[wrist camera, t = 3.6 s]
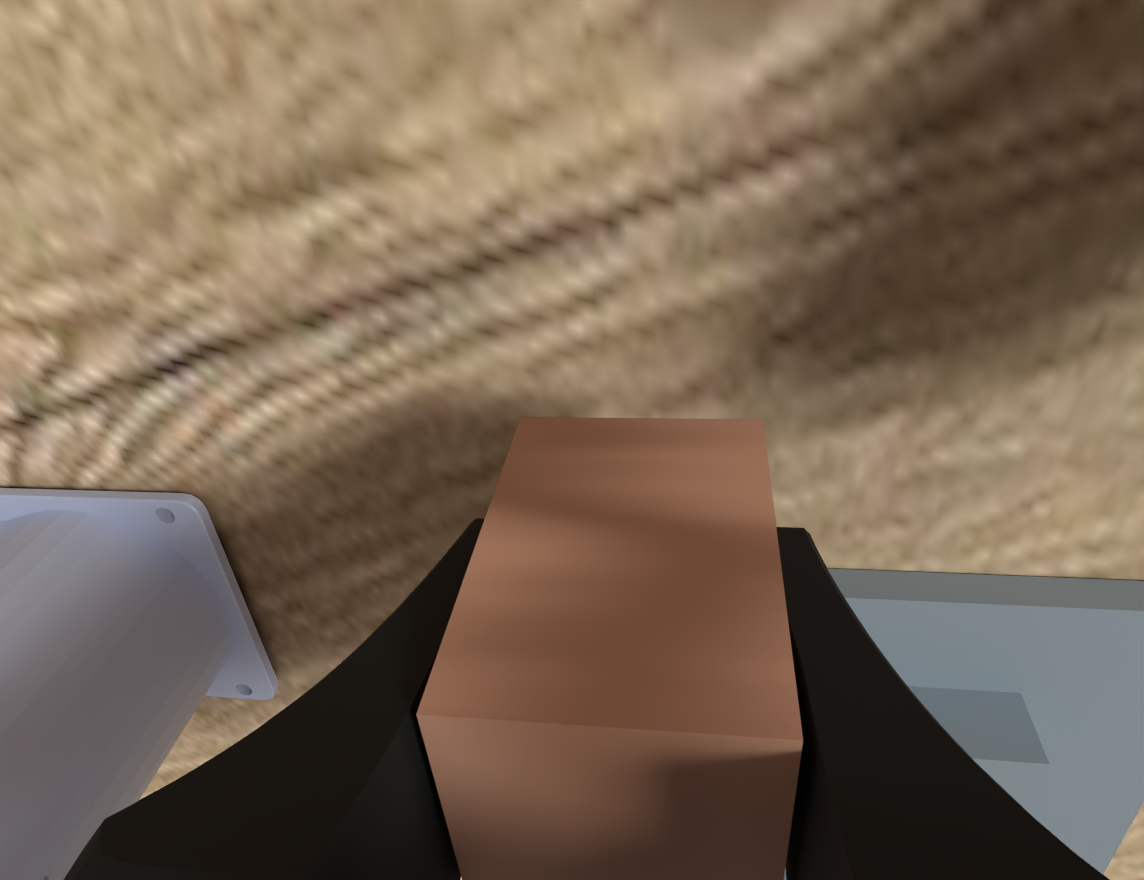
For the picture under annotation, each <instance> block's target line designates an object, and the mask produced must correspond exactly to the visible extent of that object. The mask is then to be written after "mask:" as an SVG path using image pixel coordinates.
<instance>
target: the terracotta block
mask: <svg viewBox="0 0 1144 880" xmlns="http://www.w3.org/2000/svg"><path fill="white" fill-rule="evenodd" d="M416 715H417V719H418V722H419V726H420V729H421V733H422V737H423V740H424V744H425V747H426V751H427V755H428V758H429V762H430V765H431V769H432V773H433V776H434V780H435V783H436V787H437V791H438V794H439V798H440V801H441V805H442V809H443V812H444V816H445V819H446V823H447V827H448V830H449V834H450V838H451V841H452V845H453V848H454V852H455V856H456V859H457V863H458V866H459V870H460V874H461V877H462V880H784V873H785V866H786V859H787V852H788V845H789V838H790V831H791V823H792V816H793V809H794V802H795V795H796V788H797V781H798V774H799V767H800V760H801V753H802V745H803V735H802V727H801V719H800V711H799V703H798V695H797V687H796V679H795V671H794V663H793V655H792V647H791V639H790V632H789V624H788V616H787V608H786V600H785V592H784V584H783V576H782V568H781V560H780V552H779V544H778V536H777V528H776V520H775V513H774V505H773V497H772V489H771V481H770V473H769V465H768V457H767V449H766V441H765V433H764V425H763V419H657V418H547V417H520V420H519V422H518V425H517V428H516V431H515V434H514V437H513V440H512V442H511V445H510V448H509V451H508V454H507V457H506V460H505V462H504V465H503V468H502V471H501V474H500V477H499V480H498V482H497V485H496V488H495V491H494V494H493V497H492V500H491V502H490V505H489V508H488V511H487V514H486V517H485V520H484V522H483V525H482V528H481V531H480V534H479V537H478V540H477V542H476V545H475V548H474V551H473V554H472V557H471V560H470V562H469V565H468V568H467V571H466V574H465V577H464V580H463V582H462V585H461V588H460V591H459V594H458V597H457V600H456V602H455V605H454V608H453V611H452V614H451V617H450V620H449V622H448V625H447V628H446V631H445V634H444V637H443V640H442V642H441V645H440V648H439V651H438V654H437V657H436V660H435V662H434V665H433V668H432V671H431V674H430V677H429V680H428V682H427V685H426V688H425V691H424V694H423V697H422V699H421V702H420V705H419V708H418V711H417V714H416Z"/></svg>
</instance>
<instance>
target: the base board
mask: <svg viewBox="0 0 1144 880" xmlns="http://www.w3.org/2000/svg"><path fill="white" fill-rule="evenodd" d="M827 569H828V571H829V572H830V574H831V576H832V578H833V579H834V581H835V583H836V584H837V586H838V588H839V589H840V591H841V593H842V594H843V596H844V598H845V599H846V601H847V602H848V604H849V606H850V607H851V609H852V610H853V612H854V613H855V615H856V616H857V618H858V619H859V621H860V622H861V624H862V625H863V627H864V628H865V630H866V631H867V633H868V634H869V635H870V637H871V638H872V640H873V641H874V642H875V644H876V645H877V647H878V648H879V649H880V651H881V652H882V654H883V655H884V656H885V658H886V659H887V660H888V662H889V663H890V664H891V665H892V667H893V668H894V669H895V671H896V672H897V673H898V675H899V676H900V677H901V679H902V680H903V681H904V682H905V684H906V685H907V686H908V687H909V689H910V690H911V691H912V692H913V693H914V695H915V696H916V697H917V698H918V699H919V701H920V702H921V703H922V704H923V705H924V707H925V708H926V709H927V710H928V711H929V712H930V713H931V715H932V716H933V717H934V718H935V719H936V720H937V721H938V722H939V724H940V725H941V726H942V727H943V728H944V729H945V730H946V731H947V732H948V734H949V735H950V736H951V737H952V738H953V739H954V740H955V741H956V742H957V743H958V744H959V745H960V746H961V747H962V748H963V749H964V750H965V752H966V753H967V754H968V755H969V756H970V757H971V758H972V759H973V760H974V761H975V762H976V763H977V764H978V765H979V766H980V767H981V768H982V769H983V770H984V771H985V772H986V773H988V774H989V775H990V776H991V777H992V778H993V779H994V780H995V781H996V782H997V783H998V784H999V785H1000V786H1001V787H1002V788H1003V789H1004V790H1005V791H1006V792H1007V793H1009V794H1010V795H1011V796H1012V797H1013V798H1014V799H1015V800H1016V801H1017V802H1018V803H1019V804H1020V805H1021V806H1022V807H1023V808H1024V809H1025V810H1026V811H1027V812H1029V813H1030V814H1031V815H1032V816H1033V817H1034V818H1035V819H1036V820H1037V821H1038V822H1040V823H1041V824H1042V825H1043V826H1044V827H1045V828H1047V829H1048V830H1049V831H1050V832H1051V833H1052V834H1053V835H1055V836H1056V837H1057V838H1058V839H1059V840H1060V841H1062V842H1063V843H1064V844H1065V845H1066V846H1067V847H1069V848H1070V849H1071V850H1072V851H1073V852H1075V853H1076V854H1077V855H1078V856H1079V857H1081V858H1082V859H1083V860H1085V861H1086V862H1087V863H1089V864H1090V865H1091V866H1092V867H1094V868H1095V869H1096V870H1098V871H1099V872H1100V873H1101V874H1103V873H1104V872H1105V870H1106V868H1107V866H1108V865H1109V863H1110V861H1111V859H1112V857H1113V856H1114V854H1115V852H1116V850H1117V848H1118V847H1119V845H1120V843H1121V841H1122V839H1123V838H1124V836H1125V834H1126V832H1127V830H1128V829H1129V827H1130V825H1131V823H1132V822H1133V820H1134V818H1135V816H1136V814H1137V813H1138V811H1139V809H1140V807H1141V805H1142V804H1143V802H1144V581H1136V580H1110V579H1085V578H1059V577H1033V576H1008V575H982V574H957V573H931V572H905V571H880V570H854V569H829V568H827ZM784 880H786V867H785V873H784Z"/></svg>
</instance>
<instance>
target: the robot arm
mask: <svg viewBox="0 0 1144 880" xmlns="http://www.w3.org/2000/svg"><path fill="white" fill-rule="evenodd" d="M167 509H168V510H169V511H168V510H167ZM170 511H171V512H172V513H171V512H170ZM484 520H485V519H475V520H474V521H473V522H472V523H471V524H470V525H469V526H468V527H467V528H466V530H465V531H464V532H463V533H462V535H461V536H460V537H459V538H458V539H457V541H456V542H455V543H454V544H453V545H452V547H451V548H450V549H449V550H448V552H447V553H446V554H445V555H444V556H443V558H442V559H441V560H440V561H439V562H438V563H437V565H436V566H435V567H434V568H433V569H432V570H431V572H430V573H429V574H428V575H427V576H426V577H425V578H424V580H423V581H422V582H421V583H420V584H419V585H418V586H417V587H416V588H415V589H414V591H413V592H412V593H411V594H410V595H409V596H408V597H407V598H406V599H405V601H404V602H403V603H402V604H401V605H400V606H399V607H398V608H397V609H396V610H395V611H394V612H393V613H392V614H391V615H390V616H389V617H388V618H387V619H386V620H385V621H384V622H383V623H382V624H381V625H380V626H379V627H378V628H377V629H376V630H375V631H374V632H373V633H372V634H371V635H370V636H369V637H368V638H367V639H366V640H365V641H364V642H363V643H362V644H361V645H360V646H359V647H358V648H357V649H356V650H355V651H354V652H353V653H352V654H351V655H349V656H348V657H347V658H346V659H345V660H344V661H343V662H342V663H341V664H339V665H338V666H337V667H336V668H335V669H334V670H333V671H331V672H330V673H329V674H328V675H327V676H326V677H324V678H323V679H322V680H321V681H320V682H318V683H317V684H316V685H315V686H314V687H312V688H311V689H310V690H309V691H307V692H306V693H305V694H304V695H302V696H301V697H300V698H298V699H297V700H296V701H294V702H293V703H292V704H290V705H289V706H288V707H286V708H285V709H284V710H282V711H281V712H279V713H278V714H277V715H275V716H274V717H273V718H271V719H270V720H269V721H267V722H266V723H265V724H263V725H262V726H261V727H259V728H258V729H256V730H255V731H253V732H252V733H250V734H249V735H248V736H246V737H244V738H243V739H241V740H240V741H238V742H237V743H235V744H234V745H232V746H231V747H229V748H228V749H226V750H225V751H223V752H222V753H220V754H218V755H217V756H215V757H214V758H212V759H210V760H209V761H207V762H206V763H204V764H202V765H201V766H199V767H197V768H196V769H194V770H193V771H191V772H189V773H187V774H186V775H184V776H182V777H181V778H179V779H177V780H176V781H174V782H172V783H170V784H168V785H166V786H165V787H163V788H161V789H159V790H157V791H155V792H154V793H152V794H150V795H148V796H146V797H145V798H143V799H141V800H139V799H140V797H141V796H142V794H143V793H144V791H145V790H146V788H147V786H148V785H149V783H150V782H151V780H152V778H153V777H154V775H155V774H156V772H157V770H158V769H159V767H160V766H161V764H162V763H163V761H164V759H165V758H166V756H167V755H168V753H169V751H170V750H171V748H172V747H173V745H174V744H175V742H176V740H177V739H178V737H179V736H180V734H181V732H182V731H183V729H184V728H185V726H186V724H187V723H188V721H189V720H190V718H191V717H192V715H193V713H194V712H195V710H196V709H197V707H198V705H199V704H200V702H201V701H202V699H203V698H204V696H210V697H225V698H239V699H253V700H269V699H271V698H273V697H274V695H275V693H276V692H277V690H278V688H279V683H278V680H277V678H276V675H275V673H274V670H273V668H272V666H271V663H270V661H269V658H268V656H267V654H266V651H265V649H264V646H263V644H262V641H261V639H260V637H259V634H258V632H257V629H256V627H255V624H254V622H253V620H252V617H251V615H250V612H249V610H248V608H247V605H246V603H245V600H244V598H243V595H242V593H241V591H240V588H239V586H238V583H237V581H236V579H235V576H234V574H233V571H232V569H231V566H230V564H229V562H228V559H227V557H226V554H225V552H224V549H223V547H222V545H221V542H220V540H219V537H218V535H217V533H216V530H215V528H214V525H213V523H212V520H211V518H210V516H209V513H208V511H207V508H206V507H205V505H204V504H203V502H202V501H201V500H199V499H198V498H197V497H195V496H193V495H190V494H185V493H160V492H124V491H89V490H54V489H19V488H0V880H460V878H461V874H460V870H459V866H458V863H457V859H456V856H455V852H454V848H453V845H452V841H451V838H450V834H449V830H448V827H447V823H446V819H445V816H444V812H443V809H442V805H441V801H440V798H439V794H438V791H437V787H436V783H435V780H434V776H433V773H432V769H431V765H430V762H429V758H428V755H427V751H426V747H425V744H424V740H423V737H422V733H421V729H420V726H419V722H418V719H417V715H416V714H417V711H418V708H419V705H420V702H421V699H422V697H423V694H424V691H425V688H426V685H427V682H428V680H429V677H430V674H431V671H432V668H433V665H434V662H435V660H436V657H437V654H438V651H439V648H440V645H441V642H442V640H443V637H444V634H445V631H446V628H447V625H448V622H449V620H450V617H451V614H452V611H453V608H454V605H455V602H456V600H457V597H458V594H459V591H460V588H461V585H462V582H463V580H464V577H465V574H466V571H467V568H468V565H469V562H470V560H471V557H472V554H473V551H474V548H475V545H476V542H477V540H478V537H479V534H480V531H481V528H482V525H483V522H484ZM776 528H777V536H778V544H779V552H780V560H781V568H782V576H783V584H784V592H785V600H786V608H787V616H788V624H789V632H790V639H791V647H792V655H793V663H794V671H795V679H796V687H797V695H798V703H799V711H800V719H801V727H802V735H803V745H802V753H801V760H800V767H799V774H798V781H797V788H796V795H795V802H794V809H793V816H792V823H791V831H790V838H789V845H788V852H787V859H786V866H785V867H786V880H1109V879H1108V878H1107V877H1105V876H1104V875H1103V874H1101V873H1100V872H1099V871H1098V870H1096V869H1095V868H1094V867H1092V866H1091V865H1090V864H1089V863H1087V862H1086V861H1085V860H1083V859H1082V858H1081V857H1079V856H1078V855H1077V854H1076V853H1075V852H1073V851H1072V850H1071V849H1070V848H1069V847H1067V846H1066V845H1065V844H1064V843H1063V842H1062V841H1060V840H1059V839H1058V838H1057V837H1056V836H1055V835H1053V834H1052V833H1051V832H1050V831H1049V830H1048V829H1047V828H1045V827H1044V826H1043V825H1042V824H1041V823H1040V822H1038V821H1037V820H1036V819H1035V818H1034V817H1033V816H1032V815H1031V814H1030V813H1029V812H1027V811H1026V810H1025V809H1024V808H1023V807H1022V806H1021V805H1020V804H1019V803H1018V802H1017V801H1016V800H1015V799H1014V798H1013V797H1012V796H1011V795H1010V794H1009V793H1007V792H1006V791H1005V790H1004V789H1003V788H1002V787H1001V786H1000V785H999V784H998V783H997V782H996V781H995V780H994V779H993V778H992V777H991V776H990V775H989V774H988V773H986V772H985V771H984V770H983V769H982V768H981V767H980V766H979V765H978V764H977V763H976V762H975V761H974V760H973V759H972V758H971V757H970V756H969V755H968V754H967V753H966V752H965V750H964V749H963V748H962V747H961V746H960V745H959V744H958V743H957V742H956V741H955V740H954V739H953V738H952V737H951V736H950V735H949V734H948V732H947V731H946V730H945V729H944V728H943V727H942V726H941V725H940V724H939V722H938V721H937V720H936V719H935V718H934V717H933V716H932V715H931V713H930V712H929V711H928V710H927V709H926V708H925V707H924V705H923V704H922V703H921V702H920V701H919V699H918V698H917V697H916V696H915V695H914V693H913V692H912V691H911V690H910V689H909V687H908V686H907V685H906V684H905V682H904V681H903V680H902V679H901V677H900V676H899V675H898V673H897V672H896V671H895V669H894V668H893V667H892V665H891V664H890V663H889V662H888V660H887V659H886V658H885V656H884V655H883V654H882V652H881V651H880V649H879V648H878V647H877V645H876V644H875V642H874V641H873V640H872V638H871V637H870V635H869V634H868V633H867V631H866V630H865V628H864V627H863V625H862V624H861V622H860V621H859V619H858V618H857V616H856V615H855V613H854V612H853V610H852V609H851V607H850V606H849V604H848V602H847V601H846V599H845V598H844V596H843V594H842V593H841V591H840V589H839V588H838V586H837V584H836V583H835V581H834V579H833V578H832V576H831V574H830V572H829V571H828V569H827V567H826V565H825V563H824V562H823V560H822V558H821V556H820V554H819V552H818V550H817V548H816V546H815V544H814V542H813V540H812V538H811V535H810V534H809V533H808V532H807V531H806V530H805V529H804V528H788V527H776Z"/></svg>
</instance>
